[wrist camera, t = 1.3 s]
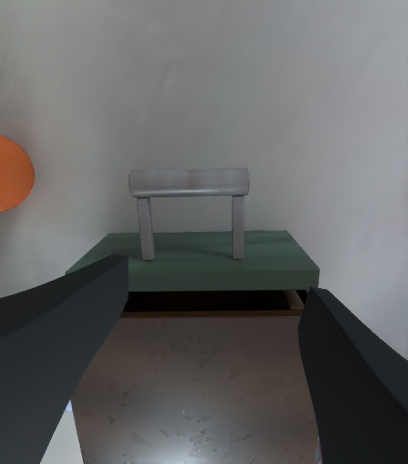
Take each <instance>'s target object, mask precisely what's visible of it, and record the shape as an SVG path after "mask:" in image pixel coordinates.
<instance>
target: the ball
mask: <svg viewBox="0 0 408 464" xmlns="http://www.w3.org/2000/svg"><path fill="white" fill-rule="evenodd" d="M33 183H34V170H33V166H32V163H31V161H30V159H29V157H28V156H27V154H26V153H25V152H24V151H23V149H22V148H21V147H19V146H18V145H17V144H16V143H15V142H13V141H12V140H10V139H8V138H6V137H4V136H2V135H0V211H3V210H7V209H10V208H12V207H15V206H16V205H18V204H20V203H21V202H22V201H23V200H24V199H25V198H26V197H27V196H28V195H29V193H30V191H31V189H32V187H33Z"/></svg>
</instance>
